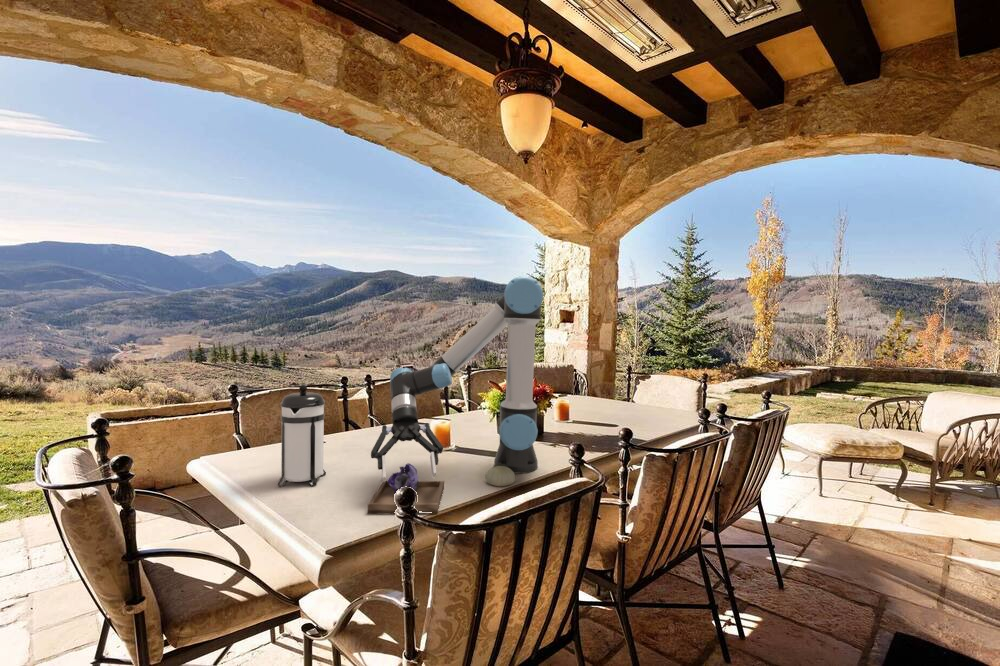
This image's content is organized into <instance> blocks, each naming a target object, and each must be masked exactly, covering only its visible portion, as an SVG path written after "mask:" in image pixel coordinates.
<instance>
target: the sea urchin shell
mask: <svg viewBox="0 0 1000 666" xmlns="http://www.w3.org/2000/svg"><path fill="white" fill-rule="evenodd" d="M484 479H485V481H486V483H487V484H489V485H491V486H494V487H505V486H510V485H512V484H514V482H515V481H516V473H514V472H513V471H512V470H511V469H510V468H508V467H505V466H496V467H494V466H493V467H491V468H489V470H487V472H486V474H485V477H484Z"/></svg>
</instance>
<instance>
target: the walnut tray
mask: <svg viewBox="0 0 1000 666" xmlns="http://www.w3.org/2000/svg"><path fill="white" fill-rule="evenodd" d="M418 482H419V484H418V488H417V489H416V492H417V495H418V502H417V503H416V504H415V508H416V509H417V510H418V513H419V511H422V512H432V513H435V514H434V515H438V512H439V510H438V509H440V506H441V502H440V501H442V498H443V495H442V494H444V491H443V490H444V489H445V480H418ZM439 505H440V506H439ZM396 509H397V506H396V504H395V502H394V489H393V488H392V487H391V486H390V485H389V483H388V480H386V482H383V481H382V482H381V484H380V485H379V487H378V488H377V490H376V492H374V494H373V496H372V497H371V499H370V500H369V502H368V503H367V514H368V513H391V514H390V515H395V514H394V512H395V510H396ZM392 513H393V514H392Z"/></svg>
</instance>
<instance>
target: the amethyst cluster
mask: <svg viewBox="0 0 1000 666" xmlns="http://www.w3.org/2000/svg"><path fill="white" fill-rule="evenodd" d="M399 469H400V471H398V472H395V473H392V474H391V475H390V476H389V478H388V479H387V481H388V483H389V485H390V486H391V487H392V488H393V489H394V494H395V493H396V491H397V490H398V489H400V488H401V487H405V486H407V487H411V488H413V489H414V490H415V491H416V489H417V488H418V484H419V482H418V481H419V476H418V469H417V468H416V467H415V466H414V465H413V464H411V463H406V464H405V466H399Z"/></svg>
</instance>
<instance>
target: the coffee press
mask: <svg viewBox="0 0 1000 666" xmlns="http://www.w3.org/2000/svg"><path fill="white" fill-rule="evenodd" d="M298 390H299V391H300V392H294V393H289V394H287V395H285V396H284V397H283V398H282V401H280V408H281V414H280V422H281V458H280V459H281V461H280V462H281V464H280V465H281V470H280V471H281V475H280V479H279V480H278V481H277V486H278V487H280V488H282V487H285V485H286V484H287V483H288V482H290V483H291V482H293V483H298V482H308V483H309V485H310V487H311V488H312V487H316V486H317V483H318V482H317V479H318V478H319V477H320V476H321V477H325V476H326V474H327V471H326V470H325V469H324V443H325V442H324V438H325V437H324V431H325V430H324V429H325V428H324V425H325V422H324V421H325V420H324V419H325V412H324V411H325V405H326V400H325V399H324V397H323V395H322V394H320V393H318V392H312V391H309V392H308V387H307V385H305V384H301V385H300V386H299V388H298ZM283 480H284V481H283ZM281 486H282V487H281Z"/></svg>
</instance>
